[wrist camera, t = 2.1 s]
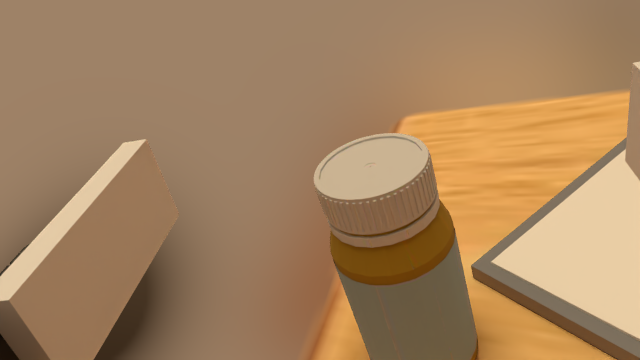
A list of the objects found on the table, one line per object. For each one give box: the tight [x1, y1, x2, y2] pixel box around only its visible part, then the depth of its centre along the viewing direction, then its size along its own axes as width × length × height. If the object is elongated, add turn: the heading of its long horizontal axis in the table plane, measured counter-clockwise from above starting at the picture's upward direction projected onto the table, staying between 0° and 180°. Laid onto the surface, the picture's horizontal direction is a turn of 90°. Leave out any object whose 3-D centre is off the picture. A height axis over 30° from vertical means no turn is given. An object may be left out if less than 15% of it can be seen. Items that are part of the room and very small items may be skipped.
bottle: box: [314, 133, 478, 360], centre depth 31 cm, size 7×7×15 cm
